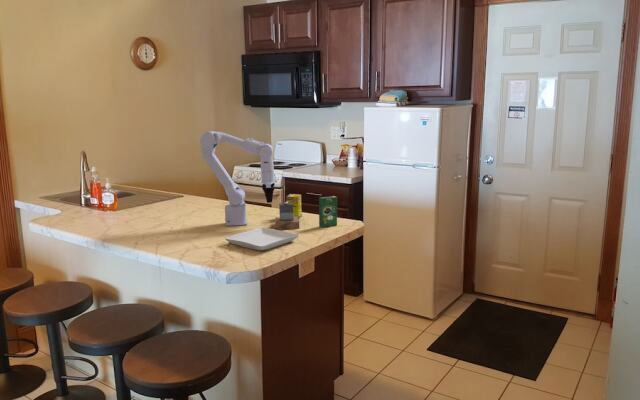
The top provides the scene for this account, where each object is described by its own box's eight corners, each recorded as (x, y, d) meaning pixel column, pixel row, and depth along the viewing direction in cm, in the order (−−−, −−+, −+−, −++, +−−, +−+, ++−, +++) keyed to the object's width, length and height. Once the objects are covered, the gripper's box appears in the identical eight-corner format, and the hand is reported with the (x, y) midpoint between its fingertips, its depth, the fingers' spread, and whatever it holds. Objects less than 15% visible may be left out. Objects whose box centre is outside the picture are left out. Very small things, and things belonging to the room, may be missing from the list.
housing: (280, 220, 225) (279, 203, 223) (279, 218, 228) (279, 201, 227) (293, 220, 225) (293, 203, 224) (293, 218, 229) (292, 201, 227)
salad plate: (262, 234, 217) (262, 226, 216) (300, 242, 203) (299, 233, 203) (223, 245, 201) (223, 237, 200) (262, 255, 187) (261, 246, 187)
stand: (276, 229, 222) (276, 222, 221) (275, 223, 232) (275, 217, 231) (299, 228, 223) (299, 221, 222) (297, 222, 233) (297, 216, 232)
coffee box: (334, 224, 229) (334, 195, 227) (337, 225, 227) (337, 196, 224) (318, 226, 226) (318, 197, 223) (322, 227, 223) (321, 198, 221)
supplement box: (299, 219, 239) (298, 196, 237) (286, 219, 240) (285, 196, 238) (302, 216, 245) (301, 194, 243) (289, 216, 246) (289, 194, 244)
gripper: (276, 172, 222) (278, 203, 225) (276, 168, 236) (277, 197, 239) (260, 173, 221) (262, 204, 224) (260, 169, 235) (262, 198, 238)
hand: (269, 200), depth 231 cm, fingers open, 7 cm apart
